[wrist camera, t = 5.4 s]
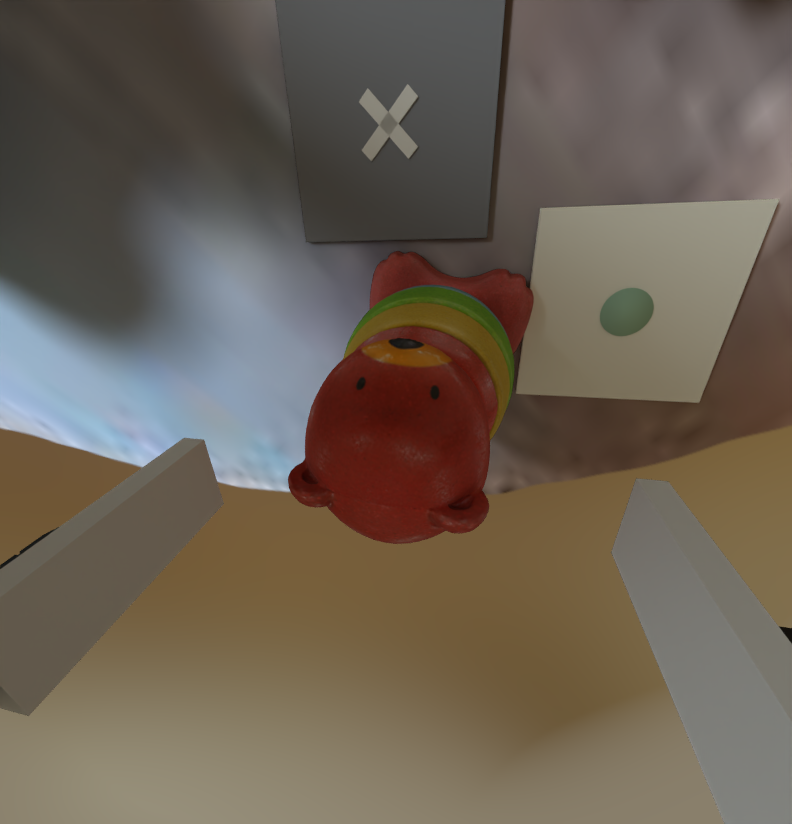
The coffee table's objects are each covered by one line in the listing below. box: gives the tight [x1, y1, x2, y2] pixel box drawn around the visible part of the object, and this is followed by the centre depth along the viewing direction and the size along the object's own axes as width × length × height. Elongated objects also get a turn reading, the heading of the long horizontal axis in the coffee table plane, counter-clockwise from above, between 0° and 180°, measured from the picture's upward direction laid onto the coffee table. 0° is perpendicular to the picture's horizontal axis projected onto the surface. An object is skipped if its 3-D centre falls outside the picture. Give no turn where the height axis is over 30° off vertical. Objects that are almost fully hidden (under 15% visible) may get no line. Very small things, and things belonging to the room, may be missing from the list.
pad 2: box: [515, 199, 779, 403], centre depth 23 cm, size 12×12×1 cm
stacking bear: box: [288, 251, 534, 544], centre depth 18 cm, size 11×10×18 cm
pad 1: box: [275, 0, 505, 242], centre depth 21 cm, size 12×12×1 cm
